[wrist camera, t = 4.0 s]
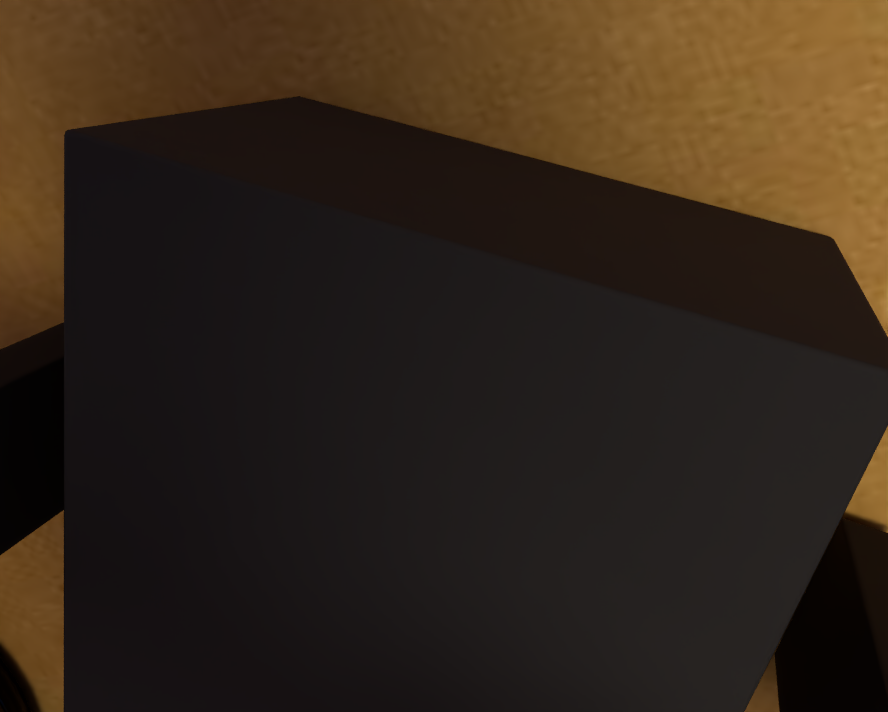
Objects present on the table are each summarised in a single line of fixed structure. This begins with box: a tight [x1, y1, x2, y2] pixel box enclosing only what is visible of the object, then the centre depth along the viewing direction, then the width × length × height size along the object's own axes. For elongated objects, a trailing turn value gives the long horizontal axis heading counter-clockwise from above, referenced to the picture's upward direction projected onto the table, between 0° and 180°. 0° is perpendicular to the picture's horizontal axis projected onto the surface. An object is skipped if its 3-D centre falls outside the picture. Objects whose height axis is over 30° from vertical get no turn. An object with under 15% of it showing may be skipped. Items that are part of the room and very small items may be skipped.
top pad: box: [64, 96, 888, 712], centre depth 11 cm, size 10×8×5 cm
